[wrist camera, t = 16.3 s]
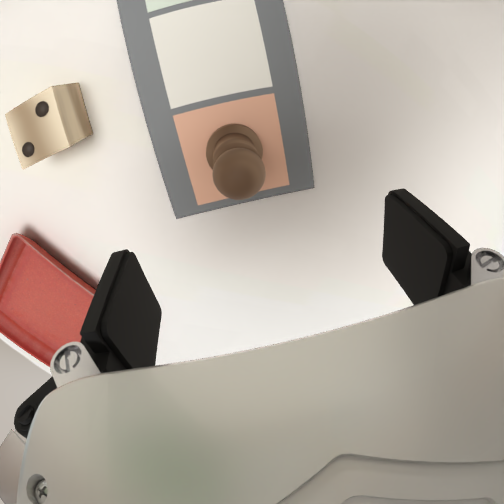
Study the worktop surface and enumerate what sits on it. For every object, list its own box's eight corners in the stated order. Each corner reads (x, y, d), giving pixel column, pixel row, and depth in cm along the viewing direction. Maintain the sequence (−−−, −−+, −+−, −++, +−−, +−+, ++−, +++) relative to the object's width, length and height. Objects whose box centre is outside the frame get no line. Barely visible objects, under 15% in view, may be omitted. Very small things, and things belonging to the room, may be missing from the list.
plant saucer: (26, 216, 25) (12, 231, 23) (149, 310, 34) (145, 331, 31) (-10, 302, 30) (-19, 317, 28) (85, 368, 39) (80, 385, 36)
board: (257, -87, 12) (257, -89, 12) (313, 186, 28) (314, 187, 27) (108, -55, 12) (107, -56, 12) (176, 217, 28) (176, 219, 27)
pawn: (255, 118, 23) (272, 137, 16) (265, 168, 26) (284, 208, 19) (200, 131, 23) (192, 156, 17) (213, 180, 26) (213, 224, 19)
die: (78, 82, 19) (50, 86, 15) (93, 133, 22) (68, 147, 18) (35, 105, 20) (3, 114, 15) (49, 152, 22) (22, 170, 18)
